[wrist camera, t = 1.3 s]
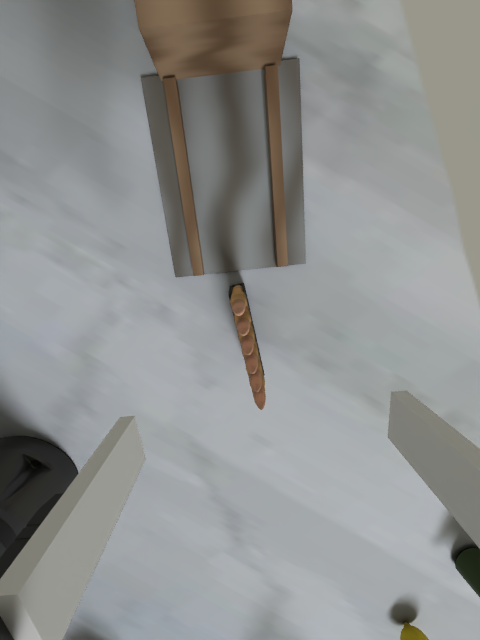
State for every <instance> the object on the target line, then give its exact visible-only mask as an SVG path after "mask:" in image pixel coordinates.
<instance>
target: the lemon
mask: <svg viewBox="0 0 480 640" xmlns="http://www.w3.org/2000/svg"><path fill="white" fill-rule="evenodd" d="M400 639H401V640H428V638H427V637H426V636H425V634H424V633H423V632H422V631H421V630H419V629H418V628H416V627H414V626H411V625H410V624H408V623H407V622H405V623H404V628H403V629H402V631H401V636H400Z"/></svg>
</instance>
